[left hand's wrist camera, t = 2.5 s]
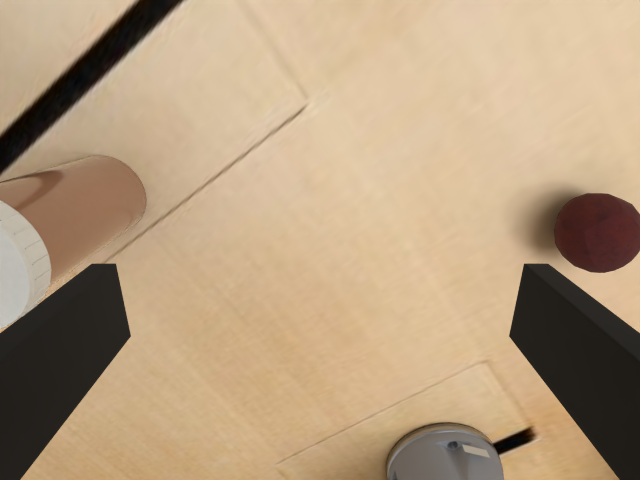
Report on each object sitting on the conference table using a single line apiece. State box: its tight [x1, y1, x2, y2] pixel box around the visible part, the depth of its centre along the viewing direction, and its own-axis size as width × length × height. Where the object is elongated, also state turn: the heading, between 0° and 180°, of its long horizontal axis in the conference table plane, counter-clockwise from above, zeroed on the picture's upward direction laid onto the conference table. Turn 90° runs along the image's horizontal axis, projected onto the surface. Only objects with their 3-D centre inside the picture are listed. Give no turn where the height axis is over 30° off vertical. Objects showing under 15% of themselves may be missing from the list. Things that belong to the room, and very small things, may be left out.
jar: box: [0, 156, 146, 288], centre depth 32 cm, size 8×8×18 cm
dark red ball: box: [554, 193, 640, 273], centre depth 38 cm, size 7×8×7 cm
